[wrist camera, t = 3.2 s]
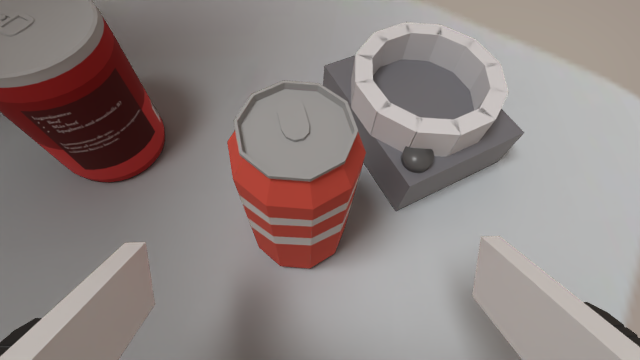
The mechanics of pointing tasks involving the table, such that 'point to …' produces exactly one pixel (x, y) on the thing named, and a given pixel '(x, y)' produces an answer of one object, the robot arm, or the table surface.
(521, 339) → the robot arm
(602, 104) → the table surface
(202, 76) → the table surface
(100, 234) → the table surface
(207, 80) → the table surface
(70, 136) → the canned food
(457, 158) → the mount
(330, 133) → the beverage can
